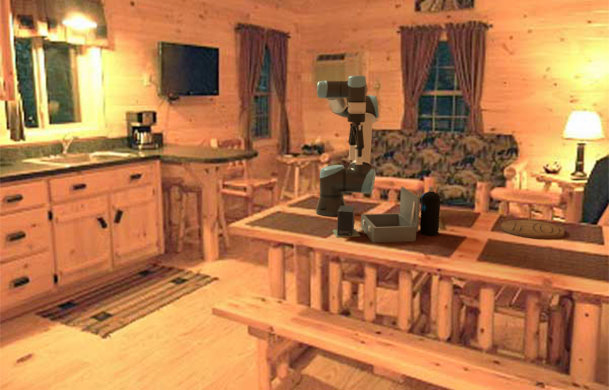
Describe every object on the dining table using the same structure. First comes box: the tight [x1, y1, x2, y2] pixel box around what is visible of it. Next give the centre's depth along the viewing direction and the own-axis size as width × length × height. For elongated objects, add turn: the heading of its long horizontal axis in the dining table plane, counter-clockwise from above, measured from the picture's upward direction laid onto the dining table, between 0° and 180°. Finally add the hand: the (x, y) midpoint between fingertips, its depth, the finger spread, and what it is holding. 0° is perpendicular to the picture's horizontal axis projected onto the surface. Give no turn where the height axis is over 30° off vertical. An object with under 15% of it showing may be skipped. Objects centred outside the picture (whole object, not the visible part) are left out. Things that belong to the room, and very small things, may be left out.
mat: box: [332, 228, 361, 238], centre depth 217 cm, size 10×10×1 cm
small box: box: [336, 205, 356, 236], centre depth 216 cm, size 11×6×10 cm, turn 170°
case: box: [360, 186, 421, 244], centre depth 214 cm, size 22×19×18 cm
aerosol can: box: [418, 185, 442, 237], centre depth 215 cm, size 8×8×20 cm
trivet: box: [500, 219, 565, 240], centre depth 220 cm, size 25×25×2 cm
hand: (355, 162), depth 223 cm, fingers open, 13 cm apart
